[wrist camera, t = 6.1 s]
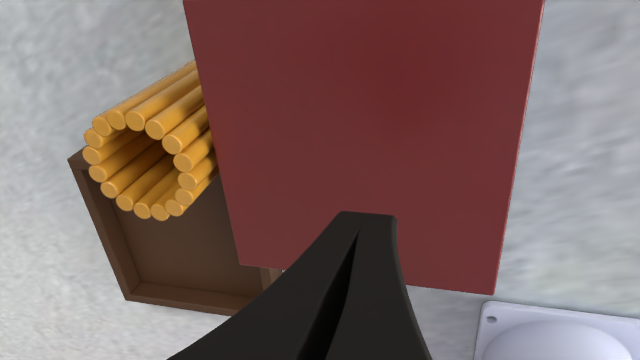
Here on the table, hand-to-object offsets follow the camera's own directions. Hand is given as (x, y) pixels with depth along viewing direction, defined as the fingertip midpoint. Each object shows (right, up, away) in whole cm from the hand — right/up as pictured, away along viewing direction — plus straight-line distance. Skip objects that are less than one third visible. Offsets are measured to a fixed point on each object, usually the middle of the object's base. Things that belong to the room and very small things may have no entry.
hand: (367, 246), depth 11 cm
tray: (-8, -1, +15) cm, 18 cm away
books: (+1, +5, +8) cm, 10 cm away
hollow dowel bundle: (-4, +4, +7) cm, 9 cm away
